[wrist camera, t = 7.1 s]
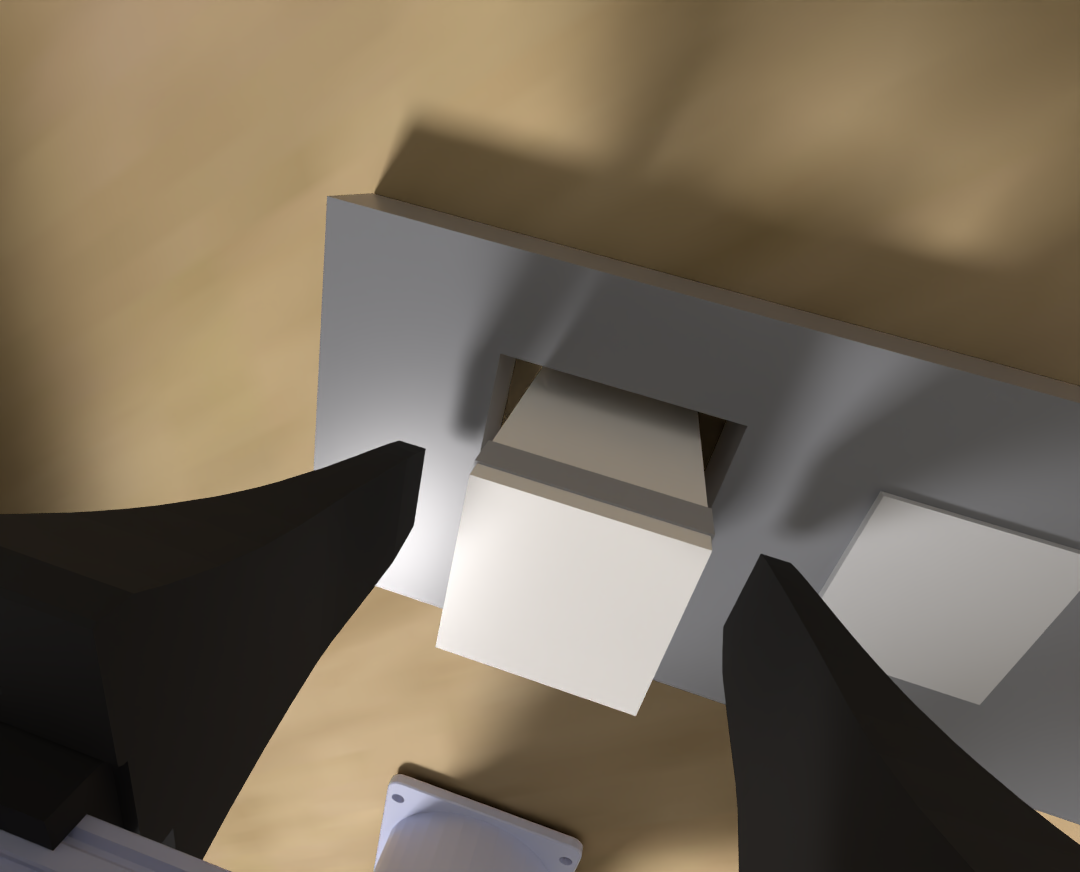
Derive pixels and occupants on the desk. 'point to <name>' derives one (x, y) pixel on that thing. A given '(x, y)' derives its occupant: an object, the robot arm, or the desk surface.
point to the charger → (580, 540)
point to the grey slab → (746, 459)
